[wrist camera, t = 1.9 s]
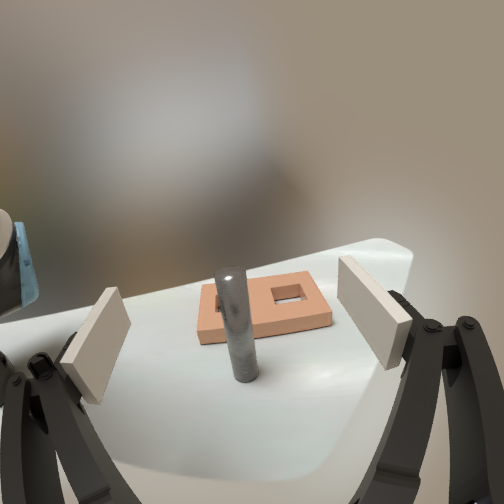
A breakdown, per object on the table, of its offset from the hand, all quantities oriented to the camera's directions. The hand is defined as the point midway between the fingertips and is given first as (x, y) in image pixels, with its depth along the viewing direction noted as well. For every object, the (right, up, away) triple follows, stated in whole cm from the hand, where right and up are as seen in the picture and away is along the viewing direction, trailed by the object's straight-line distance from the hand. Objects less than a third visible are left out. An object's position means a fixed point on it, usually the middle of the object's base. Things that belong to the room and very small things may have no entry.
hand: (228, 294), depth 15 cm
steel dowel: (+1, -12, +16) cm, 20 cm away
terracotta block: (+3, -7, +28) cm, 29 cm away
